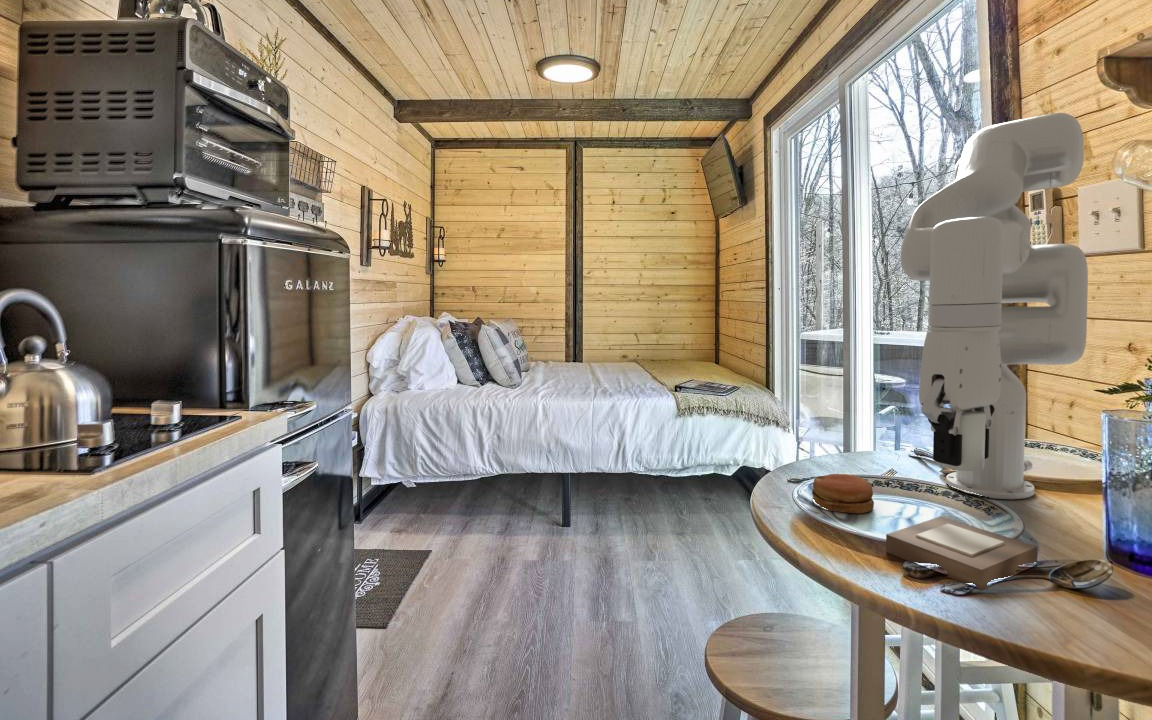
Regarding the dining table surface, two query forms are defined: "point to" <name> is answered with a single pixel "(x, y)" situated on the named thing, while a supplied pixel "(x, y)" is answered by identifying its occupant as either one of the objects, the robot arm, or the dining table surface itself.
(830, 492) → the burger
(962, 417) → the ceramic cylinder
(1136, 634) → the dining table surface
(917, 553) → the walnut base
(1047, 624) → the dining table surface
